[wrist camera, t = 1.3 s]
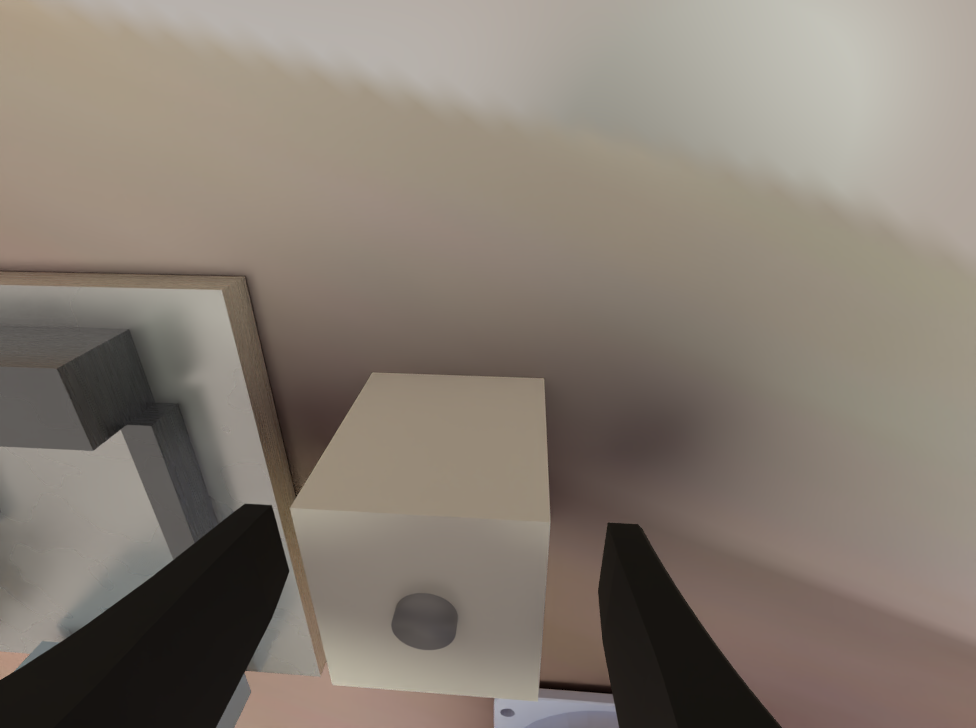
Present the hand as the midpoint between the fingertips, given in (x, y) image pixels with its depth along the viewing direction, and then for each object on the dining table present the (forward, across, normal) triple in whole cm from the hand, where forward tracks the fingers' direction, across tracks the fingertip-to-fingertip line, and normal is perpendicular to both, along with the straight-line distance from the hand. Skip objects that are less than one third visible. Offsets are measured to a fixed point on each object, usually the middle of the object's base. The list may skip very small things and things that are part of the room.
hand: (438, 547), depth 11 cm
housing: (+3, 0, 0) cm, 4 cm away
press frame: (+3, +11, +2) cm, 12 cm away
